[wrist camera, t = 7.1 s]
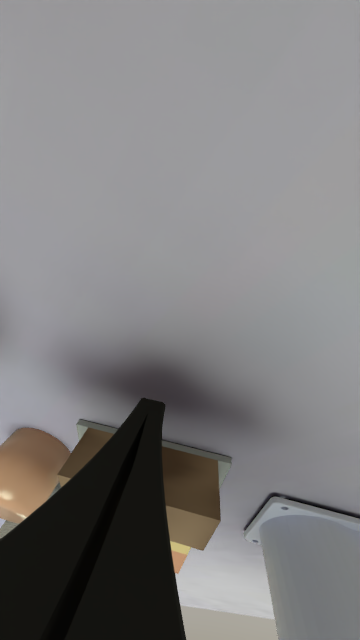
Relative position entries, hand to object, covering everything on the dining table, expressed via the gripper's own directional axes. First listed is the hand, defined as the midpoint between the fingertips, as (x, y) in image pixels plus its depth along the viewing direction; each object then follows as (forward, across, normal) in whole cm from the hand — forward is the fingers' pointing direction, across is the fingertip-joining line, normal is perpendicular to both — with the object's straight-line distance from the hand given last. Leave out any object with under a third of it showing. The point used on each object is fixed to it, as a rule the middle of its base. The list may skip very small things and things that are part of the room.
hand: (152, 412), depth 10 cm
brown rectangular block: (+1, 0, +7) cm, 7 cm away
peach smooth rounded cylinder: (+2, +10, +11) cm, 15 cm away
